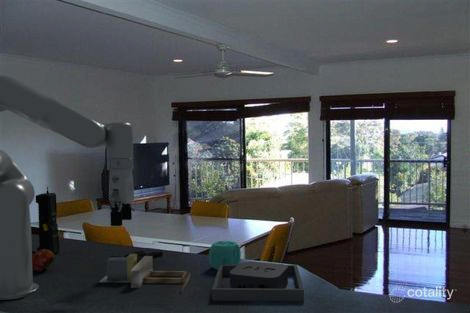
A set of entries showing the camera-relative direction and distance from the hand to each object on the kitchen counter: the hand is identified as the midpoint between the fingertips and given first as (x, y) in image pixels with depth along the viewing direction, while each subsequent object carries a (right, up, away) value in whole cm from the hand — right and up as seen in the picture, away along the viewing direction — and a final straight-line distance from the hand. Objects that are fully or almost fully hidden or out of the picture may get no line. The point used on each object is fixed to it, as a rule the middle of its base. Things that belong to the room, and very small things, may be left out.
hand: (121, 222), depth 139 cm
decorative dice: (+30, -17, +17) cm, 39 cm away
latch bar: (-1, -17, +1) cm, 17 cm away
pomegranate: (-29, -18, +15) cm, 38 cm away
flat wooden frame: (+6, -18, 0) cm, 19 cm away
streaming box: (+40, -18, -3) cm, 44 cm away
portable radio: (-36, -17, +37) cm, 54 cm away
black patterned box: (+2, -18, +21) cm, 27 cm away
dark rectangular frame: (+40, -18, -4) cm, 44 cm away
